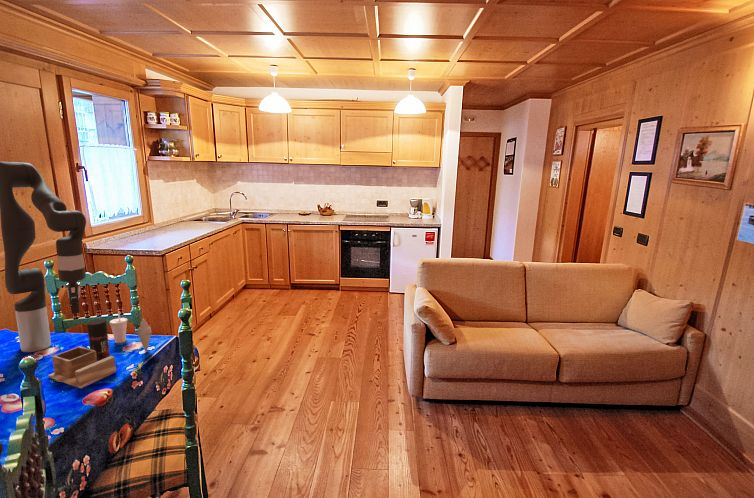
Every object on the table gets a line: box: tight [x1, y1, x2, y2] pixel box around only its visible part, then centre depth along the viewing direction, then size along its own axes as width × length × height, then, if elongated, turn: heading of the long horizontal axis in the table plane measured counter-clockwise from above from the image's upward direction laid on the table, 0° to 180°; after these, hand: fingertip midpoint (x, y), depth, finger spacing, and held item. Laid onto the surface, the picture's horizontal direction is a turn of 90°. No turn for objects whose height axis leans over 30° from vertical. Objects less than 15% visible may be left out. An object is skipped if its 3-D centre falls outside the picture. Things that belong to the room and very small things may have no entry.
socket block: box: [51, 345, 98, 379], centre depth 134 cm, size 9×9×6 cm
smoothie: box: [109, 310, 128, 344], centre depth 160 cm, size 6×6×14 cm
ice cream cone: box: [136, 317, 153, 352], centre depth 152 cm, size 5×5×15 cm
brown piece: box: [48, 355, 117, 389], centre depth 133 cm, size 17×12×6 cm
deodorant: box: [86, 318, 111, 362], centre depth 145 cm, size 6×6×15 cm
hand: (75, 309), depth 135 cm, fingers open, 8 cm apart
